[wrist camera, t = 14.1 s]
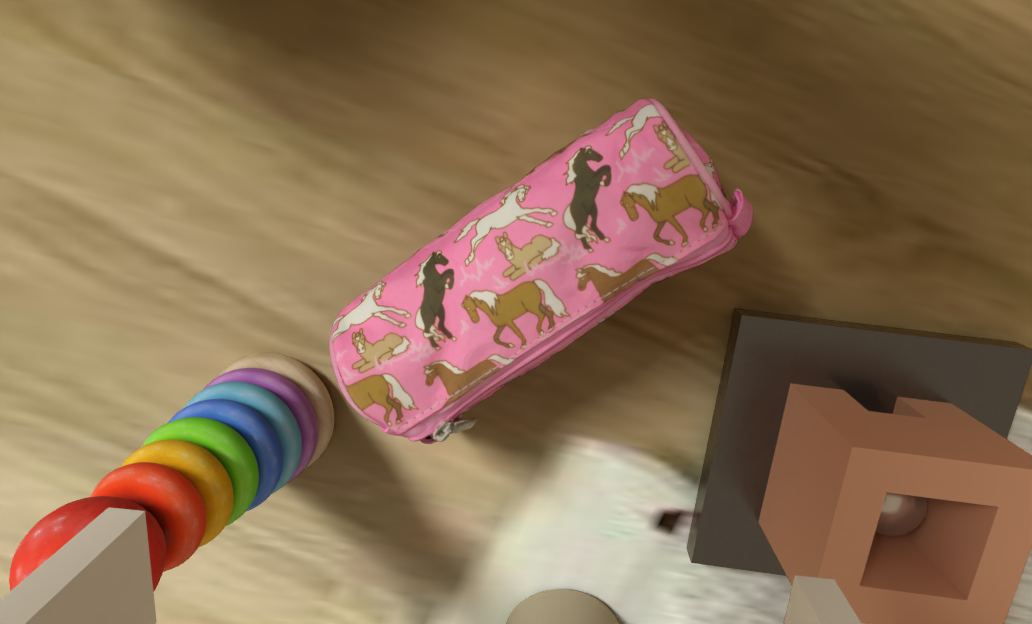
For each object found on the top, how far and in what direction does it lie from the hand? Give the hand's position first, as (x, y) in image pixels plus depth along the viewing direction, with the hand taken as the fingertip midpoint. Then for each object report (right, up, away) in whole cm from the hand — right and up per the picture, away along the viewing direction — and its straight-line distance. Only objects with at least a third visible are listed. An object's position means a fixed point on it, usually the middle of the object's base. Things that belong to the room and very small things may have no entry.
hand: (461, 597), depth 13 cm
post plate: (+21, -3, +26) cm, 33 cm away
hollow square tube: (+21, -3, +24) cm, 32 cm away
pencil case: (+2, +9, +25) cm, 26 cm away
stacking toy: (-14, 0, +28) cm, 31 cm away
